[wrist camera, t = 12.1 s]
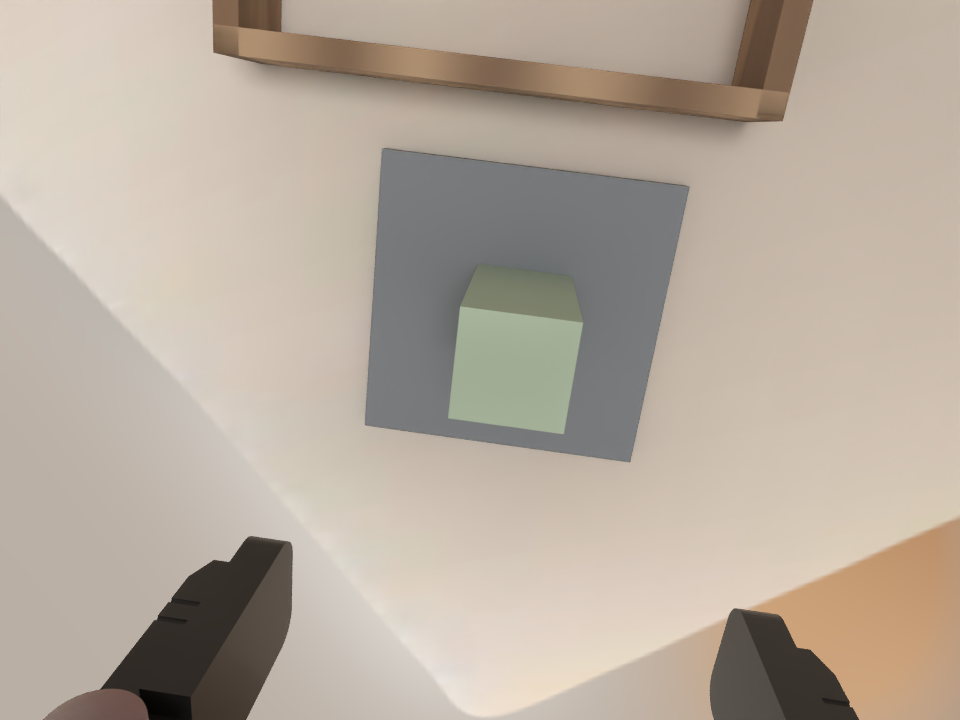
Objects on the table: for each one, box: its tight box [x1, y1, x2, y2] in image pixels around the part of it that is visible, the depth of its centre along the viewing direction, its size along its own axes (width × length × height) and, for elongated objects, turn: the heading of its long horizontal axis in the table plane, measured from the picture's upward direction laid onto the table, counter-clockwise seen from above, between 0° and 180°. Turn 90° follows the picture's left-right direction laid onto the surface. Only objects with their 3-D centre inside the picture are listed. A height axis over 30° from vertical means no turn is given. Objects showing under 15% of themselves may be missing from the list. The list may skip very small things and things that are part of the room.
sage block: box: [448, 264, 583, 434], centre depth 29 cm, size 4×4×8 cm
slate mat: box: [365, 148, 689, 462], centre depth 33 cm, size 14×14×1 cm
